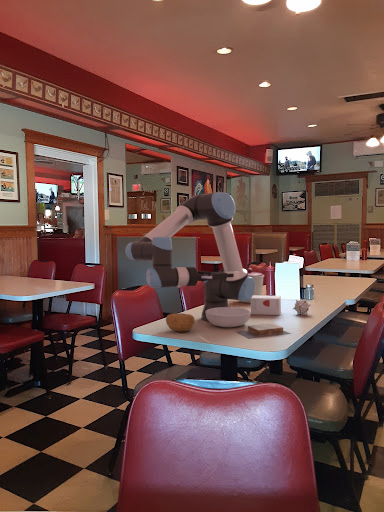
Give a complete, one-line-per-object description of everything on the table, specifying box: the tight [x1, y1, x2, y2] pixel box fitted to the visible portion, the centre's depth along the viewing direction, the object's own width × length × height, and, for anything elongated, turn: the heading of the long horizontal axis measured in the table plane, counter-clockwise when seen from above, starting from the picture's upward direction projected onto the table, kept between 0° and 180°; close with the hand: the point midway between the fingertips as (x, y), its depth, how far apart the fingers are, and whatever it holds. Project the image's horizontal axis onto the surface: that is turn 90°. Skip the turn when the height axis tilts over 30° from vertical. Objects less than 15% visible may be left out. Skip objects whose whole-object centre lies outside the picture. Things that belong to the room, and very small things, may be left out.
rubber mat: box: [235, 329, 292, 340], centre depth 174 cm, size 20×13×1 cm, turn 110°
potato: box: [165, 312, 196, 333], centre depth 181 cm, size 10×14×8 cm
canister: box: [240, 267, 265, 304], centre depth 253 cm, size 18×18×21 cm
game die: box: [292, 298, 311, 316], centre depth 211 cm, size 9×8×10 cm
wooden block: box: [247, 322, 284, 336], centre depth 174 cm, size 2×9×12 cm
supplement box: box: [250, 295, 282, 316], centre depth 216 cm, size 9×9×15 cm
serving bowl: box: [205, 306, 251, 328], centre depth 189 cm, size 21×21×7 cm
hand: (238, 274), depth 169 cm, fingers closed
